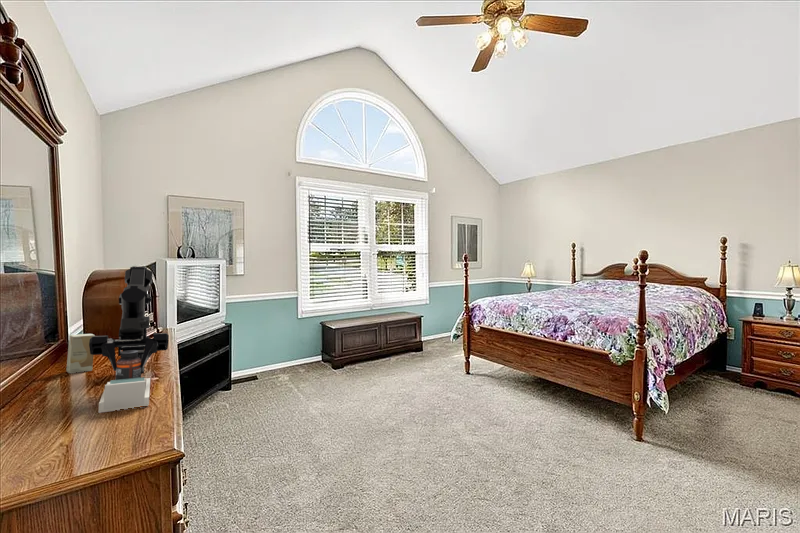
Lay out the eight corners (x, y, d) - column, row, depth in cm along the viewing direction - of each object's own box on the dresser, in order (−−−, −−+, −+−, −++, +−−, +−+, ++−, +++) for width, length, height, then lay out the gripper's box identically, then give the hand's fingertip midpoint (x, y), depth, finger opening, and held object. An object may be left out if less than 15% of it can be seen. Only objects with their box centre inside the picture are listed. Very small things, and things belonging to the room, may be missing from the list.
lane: (107, 390, 111) (108, 367, 111) (149, 385, 116) (151, 364, 117) (98, 412, 94) (99, 386, 95) (148, 406, 100) (149, 381, 100)
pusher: (109, 396, 103) (110, 380, 103) (143, 393, 107) (144, 377, 107) (108, 400, 101) (109, 383, 101) (143, 396, 105) (144, 379, 105)
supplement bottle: (143, 387, 111) (145, 348, 112) (136, 394, 106) (138, 353, 106) (119, 388, 110) (121, 349, 110) (110, 395, 104) (113, 354, 104)
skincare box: (69, 374, 125) (71, 336, 125) (65, 371, 128) (67, 335, 128) (93, 370, 130) (95, 334, 130) (89, 368, 133) (91, 333, 133)
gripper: (91, 307, 106) (83, 355, 97) (169, 306, 116) (169, 350, 107) (94, 331, 113) (86, 378, 103) (168, 328, 123) (167, 371, 113)
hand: (128, 368), depth 107 cm, fingers closed on supplement bottle, 6 cm apart
